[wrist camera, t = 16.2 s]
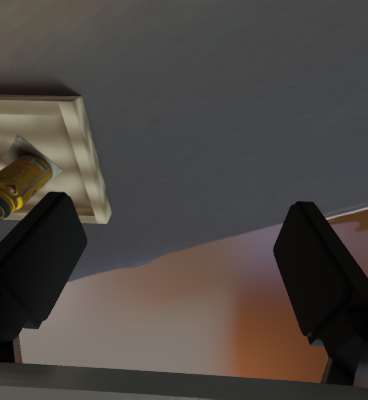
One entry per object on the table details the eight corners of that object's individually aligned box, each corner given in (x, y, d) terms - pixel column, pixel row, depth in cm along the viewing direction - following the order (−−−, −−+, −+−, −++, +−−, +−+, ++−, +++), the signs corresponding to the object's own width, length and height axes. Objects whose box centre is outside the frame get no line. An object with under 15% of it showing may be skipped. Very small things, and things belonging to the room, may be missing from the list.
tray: (-67, 92, 34) (-91, 97, 31) (82, 96, 33) (71, 101, 30) (7, 208, 48) (-4, 218, 45) (111, 212, 48) (106, 223, 45)
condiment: (43, 188, 43) (-1, 231, 34) (1, 158, 39) (-61, 196, 30) (63, 170, 40) (22, 211, 31) (20, 135, 36) (-42, 169, 27)
